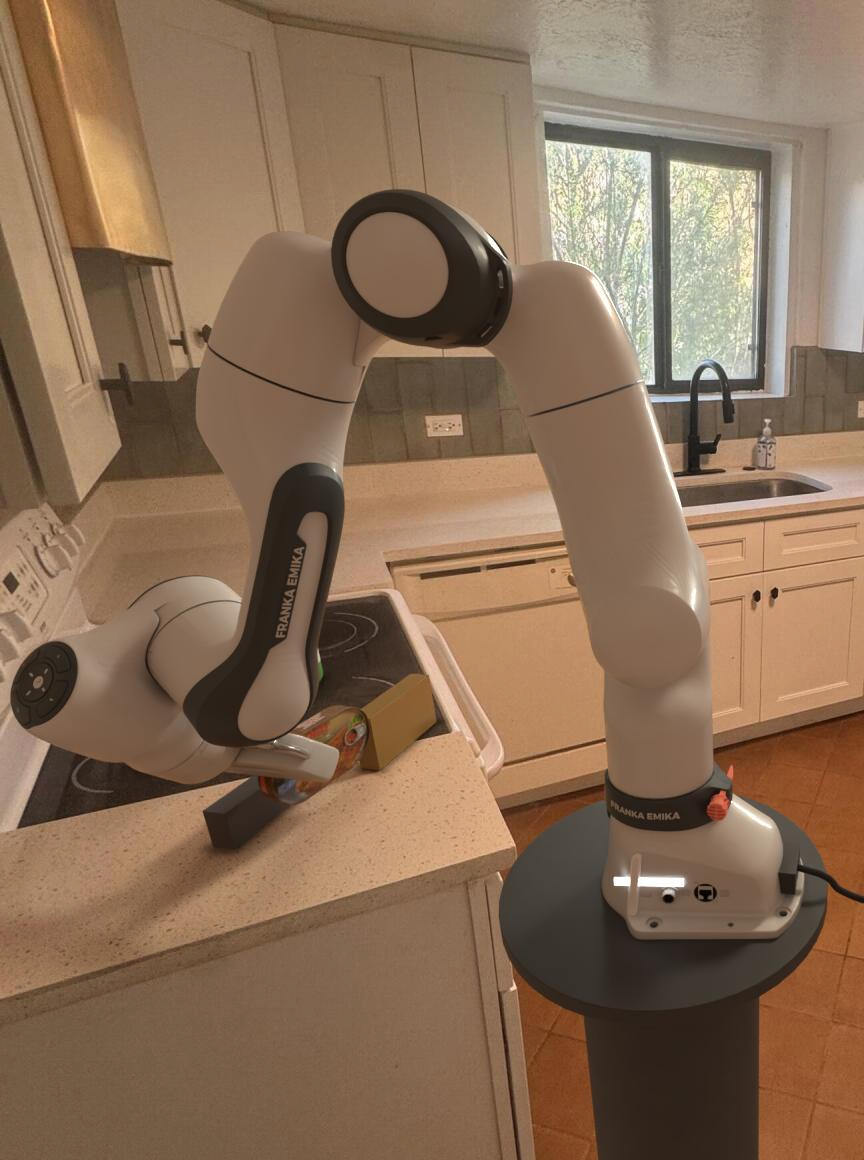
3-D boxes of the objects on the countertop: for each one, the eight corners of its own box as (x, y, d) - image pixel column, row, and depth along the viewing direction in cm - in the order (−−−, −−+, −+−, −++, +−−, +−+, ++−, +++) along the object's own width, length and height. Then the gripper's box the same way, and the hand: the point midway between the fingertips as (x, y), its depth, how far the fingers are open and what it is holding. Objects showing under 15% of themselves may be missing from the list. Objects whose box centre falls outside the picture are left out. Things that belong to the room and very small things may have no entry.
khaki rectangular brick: (436, 722, 120) (429, 674, 117) (380, 770, 107) (369, 718, 104) (419, 720, 120) (410, 673, 117) (360, 768, 107) (349, 716, 104)
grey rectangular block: (323, 780, 105) (316, 747, 103) (234, 850, 91) (224, 813, 89) (303, 777, 105) (296, 745, 103) (212, 847, 91) (201, 811, 90)
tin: (278, 819, 87) (271, 755, 84) (255, 811, 88) (247, 747, 85) (373, 755, 101) (371, 697, 98) (353, 748, 102) (349, 691, 99)
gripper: (297, 713, 76) (377, 750, 88) (120, 697, 80) (222, 735, 92) (273, 778, 73) (359, 806, 86) (92, 758, 77) (200, 788, 90)
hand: (287, 769), depth 89 cm, fingers closed on tin, 3 cm apart
